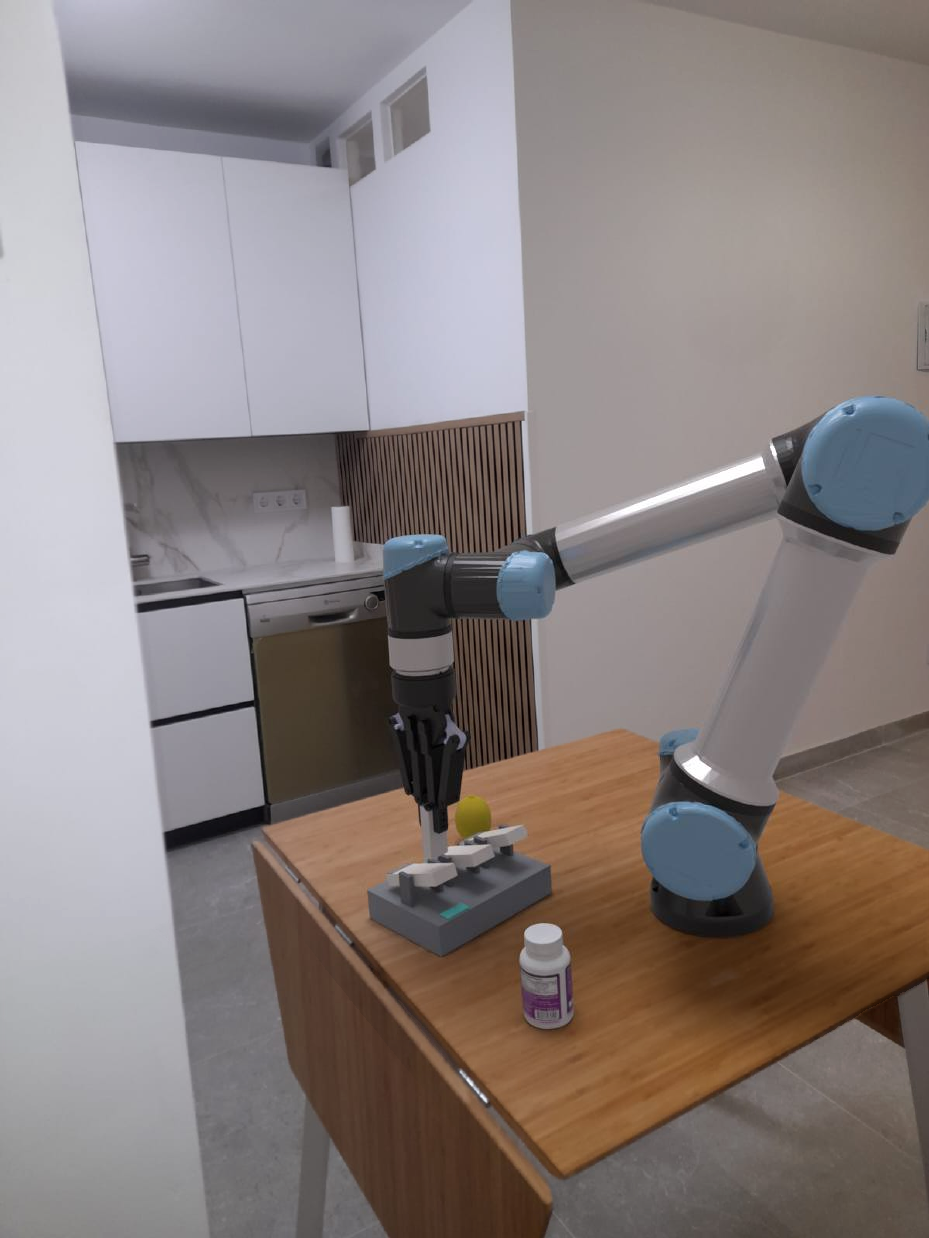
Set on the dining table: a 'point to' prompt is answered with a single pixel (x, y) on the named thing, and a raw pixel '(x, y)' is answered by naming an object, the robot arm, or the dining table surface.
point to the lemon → (472, 816)
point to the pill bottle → (546, 977)
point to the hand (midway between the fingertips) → (435, 853)
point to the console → (461, 899)
